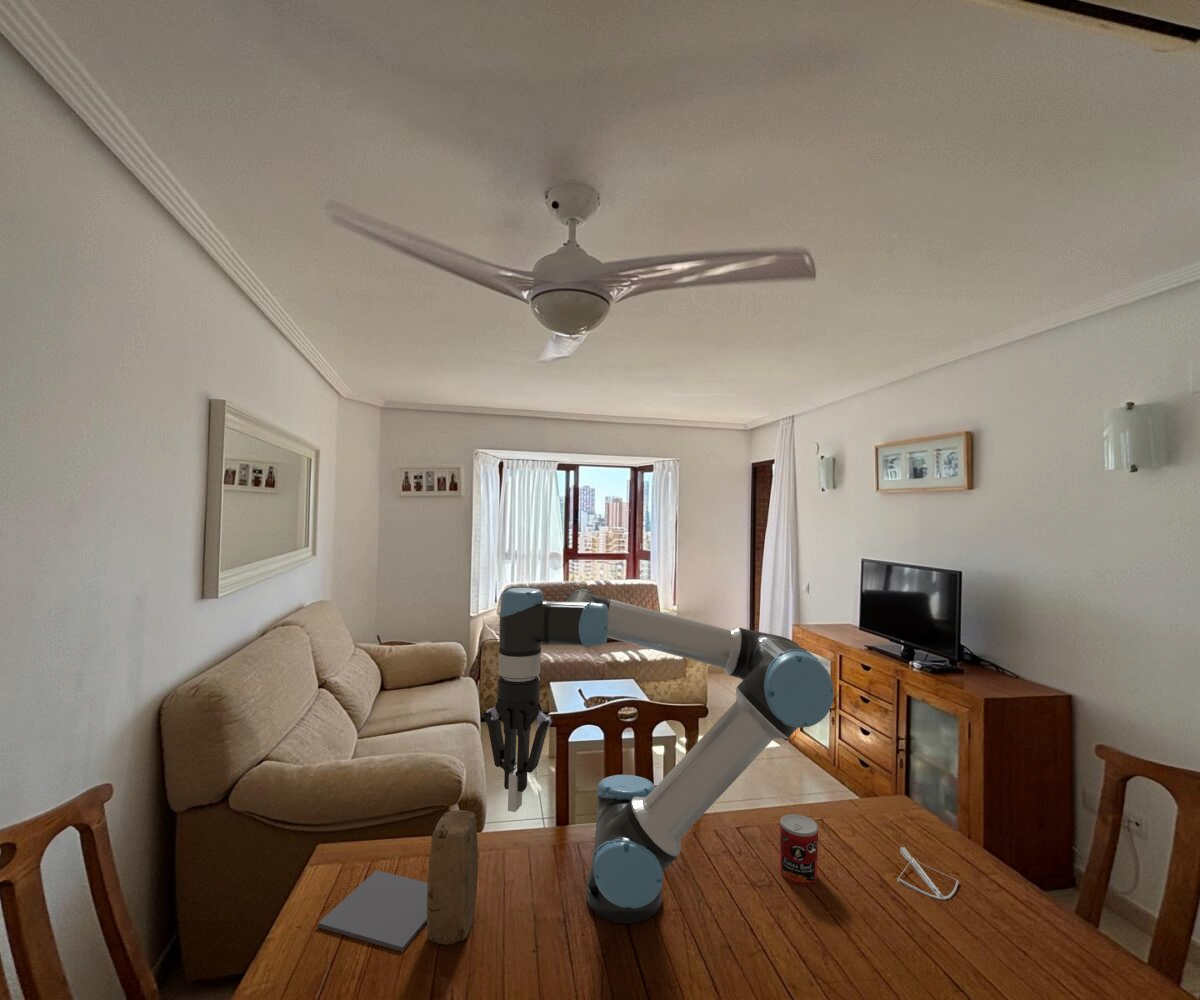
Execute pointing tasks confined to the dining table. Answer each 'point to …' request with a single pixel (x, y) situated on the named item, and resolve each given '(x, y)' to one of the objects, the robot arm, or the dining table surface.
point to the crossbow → (924, 878)
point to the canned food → (798, 849)
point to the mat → (381, 911)
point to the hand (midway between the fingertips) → (514, 807)
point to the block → (452, 877)
